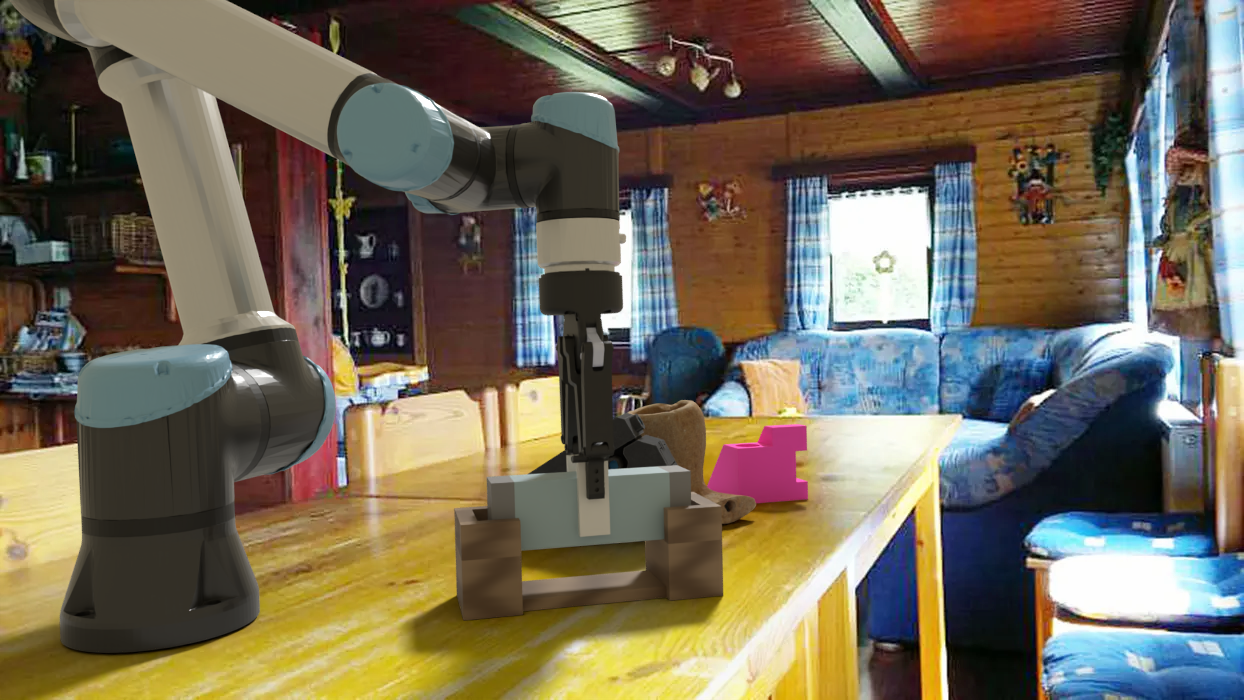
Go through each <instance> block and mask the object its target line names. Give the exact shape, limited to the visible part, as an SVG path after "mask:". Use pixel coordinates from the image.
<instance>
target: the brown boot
mask: <svg viewBox="0 0 1244 700" xmlns="http://www.w3.org/2000/svg"><path fill="white" fill-rule="evenodd" d="M627 413H629V414H633V415H635V414H638V415H639V417H640V418H641V419H642V421H643V423H644V425H645V429H643V431H644V433H642V434H640V435H641V436H642V437H643V436H644V435H649V436H652V437H656V438H659V439H663V440H664V441H665V443H666V445H667V446H668V448H669V450H670V452H671V454H672V456H673V457H674V459H675V461H676V463H677V465H678V466H680V467H682V468H685V469H687V470H689V471H691V492H695V493H697V494H698V495H700V496H702V497H704V498H706V499H708V500H710V501H712V502H714V503H716V504H718V505H720V506H721V512H722V525H727V524H730V523H733V522H736V521H738V520H741V519H743V518H744V517H745V516H747V515H748V514H750V512H752V511H753V510H754V509H755V508H756V506H757V503H756V502H755V499H754V498H752V497H749V496H743V495H734V494H726V493H719V492H715V491H713V490H711V489H709V488H708V487H707V484H706V483H705V481H704V480H705V479H704V465H705V463H704V462H705V456H706V448H707V430H706V429H707V428H706V420H705V415H704V412H703V411H702V409H701V407H699V405H698V404H697V403H696V401H695V402H694V400H691V399H690V400H688V399H687V400H686V399H684V400H683V399H681V400H679V401H677V402H676V403H674V404H667V403H653V404H649V405H645V406H641V407H638V408H636V409H634V410H629V411H628V412H627Z"/></svg>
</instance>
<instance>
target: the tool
mask: <svg viewBox="0 0 1244 700" xmlns="http://www.w3.org/2000/svg"><path fill="white" fill-rule="evenodd" d="M643 429H645V425H644V423H643V421H642V419H641V418H640V417H639V415H638V414H635V415H633V414H629V413H628V412H625V413H623V414H621V415H619V416H616V417H615V418H613V440H614V454H613V456H610V457H609V460H608V469H624V468H641V467H657V466H674V465H677V463H676V461H675V459H674V457H673V456H672V454H671V452H670V450H669V448H668V446H667V445H666V443H665V441H664V440H663V439H659V438H656V437H652V436H649V435H644V436H643V437H642V436H641V435H640V434H642V433H644V431H643ZM566 455H571V453H568V454H567V453H566V450H565V449H564V450H563V451H561V452H559V453H558V454H556V455H555V456H553V457H552V458H549V460H547V461H546V462H544V463H543V464H541V465H539V466H538V467H536V468H535V469H533V470H531V471H530V472H529V473H527V474H542V473H558V472H567V461H566Z"/></svg>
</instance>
